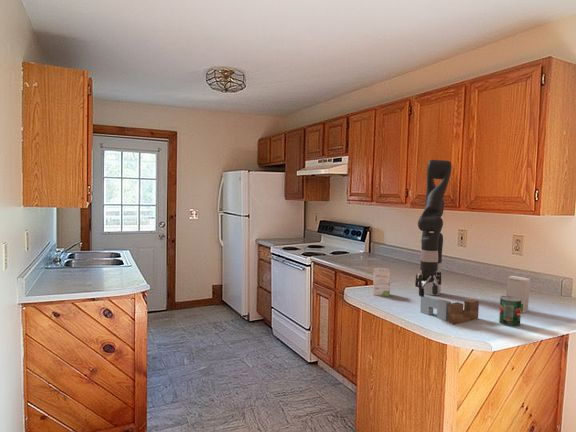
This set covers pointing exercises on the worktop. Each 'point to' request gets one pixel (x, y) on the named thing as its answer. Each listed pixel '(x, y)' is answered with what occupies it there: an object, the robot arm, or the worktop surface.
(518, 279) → the skincare box
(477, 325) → the worktop surface
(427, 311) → the grey tall rectangular block
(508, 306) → the canned tomato
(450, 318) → the wooden u-shaped brace
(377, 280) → the ink box
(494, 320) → the worktop surface
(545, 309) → the worktop surface
